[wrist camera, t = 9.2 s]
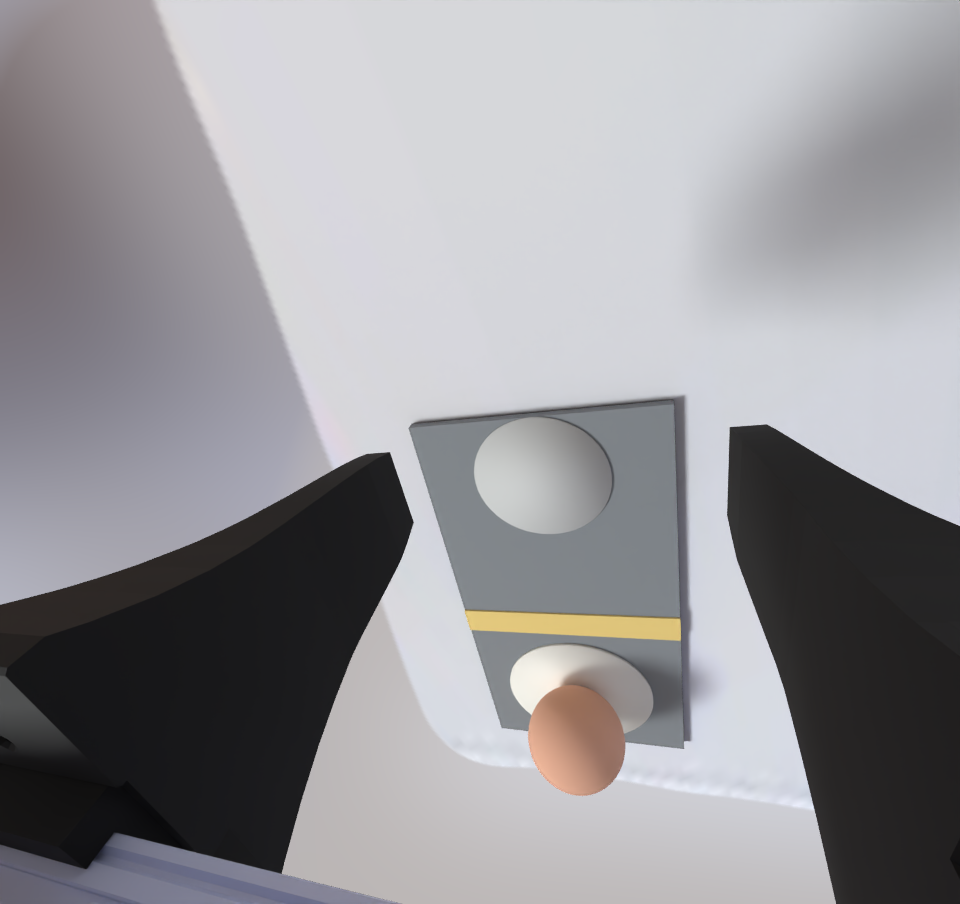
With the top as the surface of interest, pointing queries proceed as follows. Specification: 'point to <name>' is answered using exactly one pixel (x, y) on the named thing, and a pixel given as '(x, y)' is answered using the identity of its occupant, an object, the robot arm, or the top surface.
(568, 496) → the mat
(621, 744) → the ball
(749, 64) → the top surface
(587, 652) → the white disc
